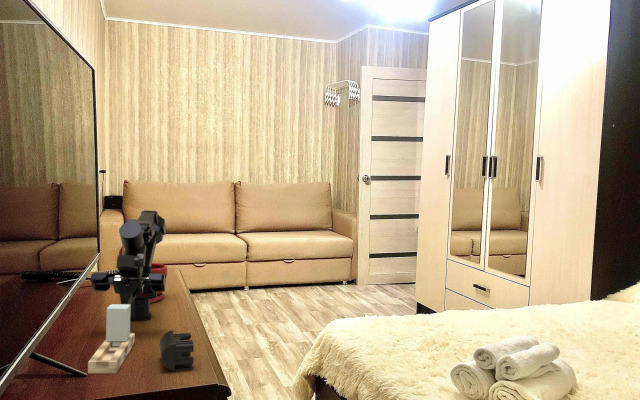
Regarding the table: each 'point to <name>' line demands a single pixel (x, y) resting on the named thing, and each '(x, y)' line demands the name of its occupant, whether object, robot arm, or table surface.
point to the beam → (110, 356)
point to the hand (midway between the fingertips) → (123, 309)
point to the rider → (118, 323)
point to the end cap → (177, 351)
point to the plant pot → (158, 269)
